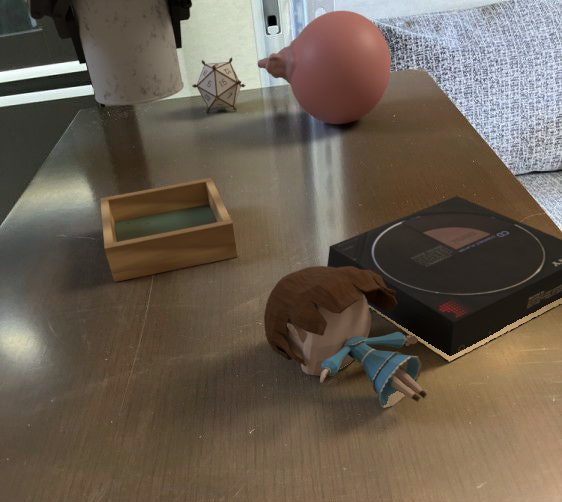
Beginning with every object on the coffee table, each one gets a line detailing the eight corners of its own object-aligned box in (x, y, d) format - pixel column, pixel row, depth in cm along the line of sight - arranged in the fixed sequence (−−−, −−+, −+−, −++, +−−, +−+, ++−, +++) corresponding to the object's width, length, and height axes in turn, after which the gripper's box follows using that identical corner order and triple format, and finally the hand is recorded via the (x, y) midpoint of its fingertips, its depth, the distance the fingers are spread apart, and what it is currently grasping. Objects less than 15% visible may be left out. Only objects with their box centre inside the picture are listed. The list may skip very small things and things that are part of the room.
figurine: (444, 414, 51) (319, 316, 58) (494, 320, 45) (349, 224, 53) (353, 466, 44) (224, 347, 51) (399, 362, 38) (246, 244, 45)
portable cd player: (449, 228, 68) (452, 194, 66) (584, 292, 57) (594, 253, 54) (327, 279, 62) (325, 243, 60) (449, 362, 51) (453, 322, 48)
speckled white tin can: (155, 74, 72) (129, -53, 64) (201, 87, 66) (178, -52, 58) (80, 96, 68) (42, -38, 60) (122, 111, 62) (86, -36, 54)
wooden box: (109, 229, 76) (100, 198, 73) (216, 208, 78) (211, 177, 75) (114, 282, 66) (104, 248, 63) (237, 256, 68) (232, 223, 65)
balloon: (269, 111, 107) (259, 8, 97) (387, 103, 104) (389, -3, 94) (258, 143, 95) (246, 30, 85) (391, 135, 92) (394, 17, 83)
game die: (214, 131, 112) (180, 82, 110) (252, 104, 113) (219, 54, 111) (219, 118, 104) (182, 64, 102) (259, 89, 104) (224, 35, 102)
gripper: (-60, -92, 43) (30, 93, 65) (252, -129, 46) (237, 60, 68) (-81, -188, 44) (15, 28, 66) (228, -218, 47) (221, -3, 69)
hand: (128, 44), depth 67 cm, fingers closed on speckled white tin can, 9 cm apart
